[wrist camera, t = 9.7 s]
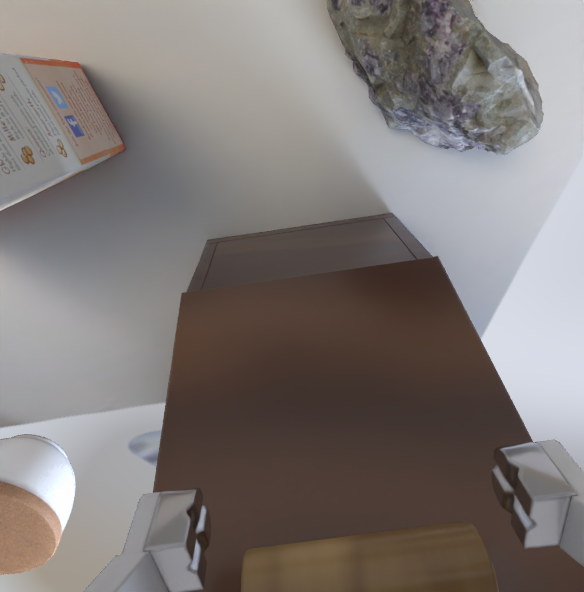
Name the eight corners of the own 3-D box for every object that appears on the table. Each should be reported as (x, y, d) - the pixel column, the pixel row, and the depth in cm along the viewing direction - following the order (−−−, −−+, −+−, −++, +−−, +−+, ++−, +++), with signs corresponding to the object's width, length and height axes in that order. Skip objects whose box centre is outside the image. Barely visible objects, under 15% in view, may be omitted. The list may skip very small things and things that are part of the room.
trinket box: (33, 397, 37) (-37, 488, 29) (116, 468, 41) (77, 566, 33) (-52, 446, 39) (-140, 544, 31) (36, 509, 44) (-20, 611, 35)
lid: (640, 679, 11) (776, 665, 7) (127, 739, 11) (18, 754, 8) (436, 266, 23) (450, 183, 19) (185, 302, 23) (152, 227, 20)
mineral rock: (310, -56, 24) (334, -141, 15) (503, -117, 23) (652, -246, 14) (353, 172, 29) (389, 211, 20) (508, 129, 29) (616, 151, 20)
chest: (397, 382, 38) (430, 461, 30) (246, 403, 38) (240, 486, 30) (392, 212, 31) (434, 257, 23) (207, 239, 31) (184, 293, 23)
